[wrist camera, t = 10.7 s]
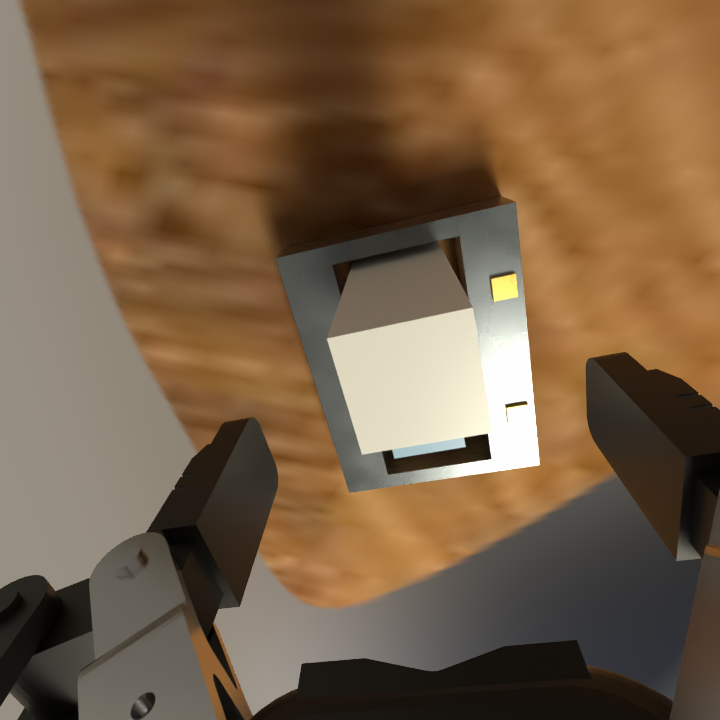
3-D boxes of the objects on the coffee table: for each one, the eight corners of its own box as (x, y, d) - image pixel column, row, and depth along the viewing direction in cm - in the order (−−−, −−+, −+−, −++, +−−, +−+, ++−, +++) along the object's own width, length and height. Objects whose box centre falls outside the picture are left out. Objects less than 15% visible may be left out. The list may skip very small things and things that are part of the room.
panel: (287, 247, 21) (274, 259, 19) (501, 196, 20) (517, 202, 17) (352, 463, 26) (349, 495, 24) (525, 436, 25) (540, 467, 22)
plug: (353, 259, 21) (327, 338, 12) (436, 239, 21) (472, 307, 12) (378, 354, 23) (370, 482, 14) (454, 338, 23) (496, 462, 14)
